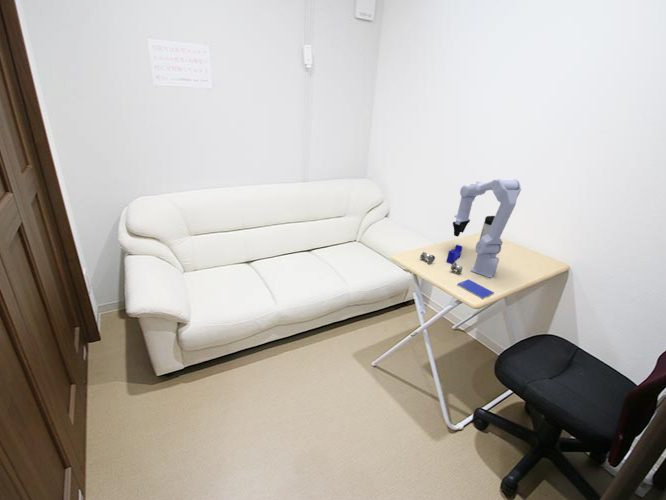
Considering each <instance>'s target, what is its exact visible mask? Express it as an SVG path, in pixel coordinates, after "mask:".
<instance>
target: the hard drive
mask: <svg viewBox="0 0 666 500" xmlns="http://www.w3.org/2000/svg"><path fill="white" fill-rule="evenodd" d="M456 286H457V287H459V288H461V289H463V290H465V291H467V292H468V293H471V294H472V295H475V296H476V297H478V298H479V299H482V300H484V299H486V298H488V297H490V296H493V295H494V293H495V292H494V291H493V290H490V289H488V288H486V287H484V286H482V285H481V284H478V283H477V282H476V281H473V280H471V279H465V280H463V281H461V282H458V283H457V285H456Z"/></svg>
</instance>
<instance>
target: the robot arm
mask: <svg viewBox="0 0 666 500" xmlns="http://www.w3.org/2000/svg"><path fill="white" fill-rule="evenodd" d="M487 191H492V192H493V195H494V196H495V198H496V200H497V202H499V203H500V204H499V206H498V208H497V211H496V213H495V215H494V216H495V217H494V220H493V222H492V224H491V226H490V229H489V231H488V233H487V234H486V235H485V236H483V237H481V239H480V238H479V240H480V241H479V240H478V241H477V243H476V244H475V251H476V254H477V256H476V259H475V264H474V266H473V267H472V269H470V271H471V272H472V273H476V274H478V275H481V276H484V277H487V278H493V276H494V275H495V274H496V273H497V268H498V265H499V261H500V258H499V257H497V255H498V254H500V253H501V250H502V245H503V240H502V239H501V237H502V234H503V232H504V229H505V228H506V226H507V224H508V221H509V219H510V217H511V215H512V214H513V211H514V209H515V207H516V205H517V200H518V197H519V195H520V193H521V191H522V187H521V183H520V181H519V180H517V179H493V180H491V181H488V182H486V183H485V182H481V181H476V183H471V184H469V185H462V187H460V191H459V194H460V197H461V198H460V201H459V206H458V210H457V214H455V215H454V218H455V221H453V222H452V227H453V235H454V236H455V237H459V236H460V234H461V233H464V232H465V229H466V227H467V225H469V223H470V221H471V219H470V218H469V217H470V215H471V210H472V206H473V202H474V201H475V199H476V197H477V196H482V195H484V194H485V193H486V192H487Z"/></svg>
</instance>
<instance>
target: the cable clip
mask: <svg viewBox="0 0 666 500" xmlns="http://www.w3.org/2000/svg"><path fill="white" fill-rule="evenodd" d="M463 247H464V246H463V245H459V244H456V245H455V247H454V249H451V250H449V251H448V253H447V259H446V261H445V262H446V263H447V264H450V265H452V264H453V263H456V261H457V260H458V259H459V258H460V257H461V255H462V251H463Z"/></svg>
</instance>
